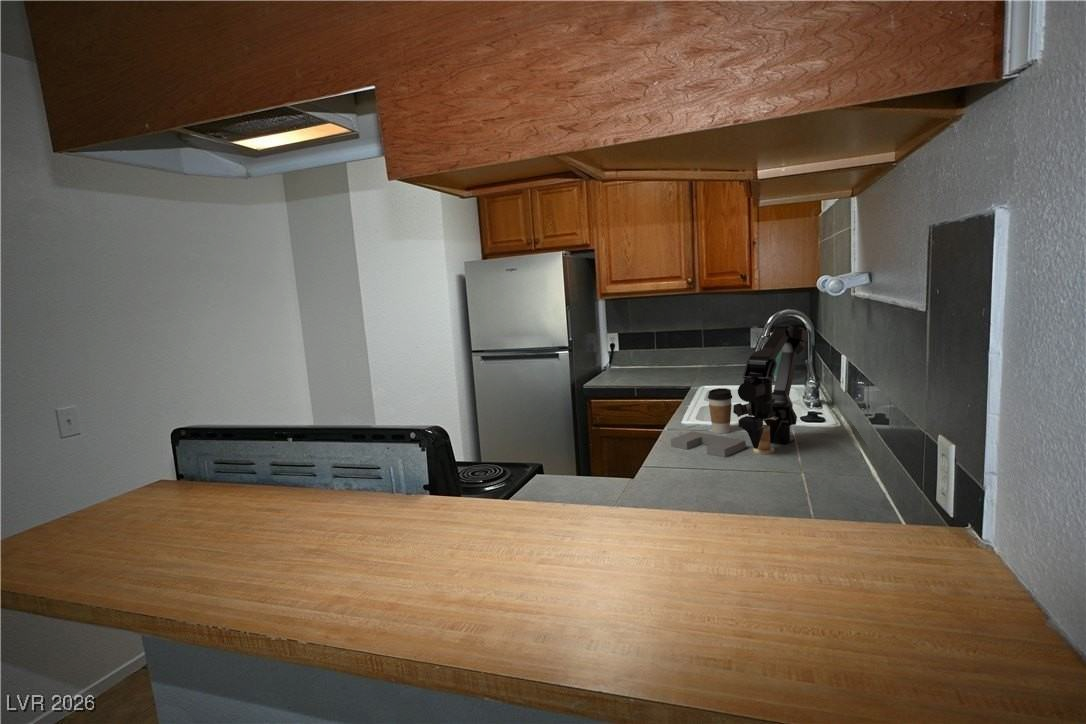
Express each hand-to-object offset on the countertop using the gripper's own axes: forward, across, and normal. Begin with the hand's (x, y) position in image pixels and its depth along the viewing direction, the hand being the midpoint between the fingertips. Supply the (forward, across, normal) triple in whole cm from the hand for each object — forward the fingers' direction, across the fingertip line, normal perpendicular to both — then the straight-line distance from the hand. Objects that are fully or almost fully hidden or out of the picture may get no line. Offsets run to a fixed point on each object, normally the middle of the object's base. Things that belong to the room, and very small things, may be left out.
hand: (763, 444), depth 172 cm
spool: (+2, 0, 0) cm, 2 cm away
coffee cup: (+2, -13, -23) cm, 27 cm away
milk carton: (+2, -114, -54) cm, 126 cm away
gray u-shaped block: (+2, +6, -16) cm, 17 cm away
